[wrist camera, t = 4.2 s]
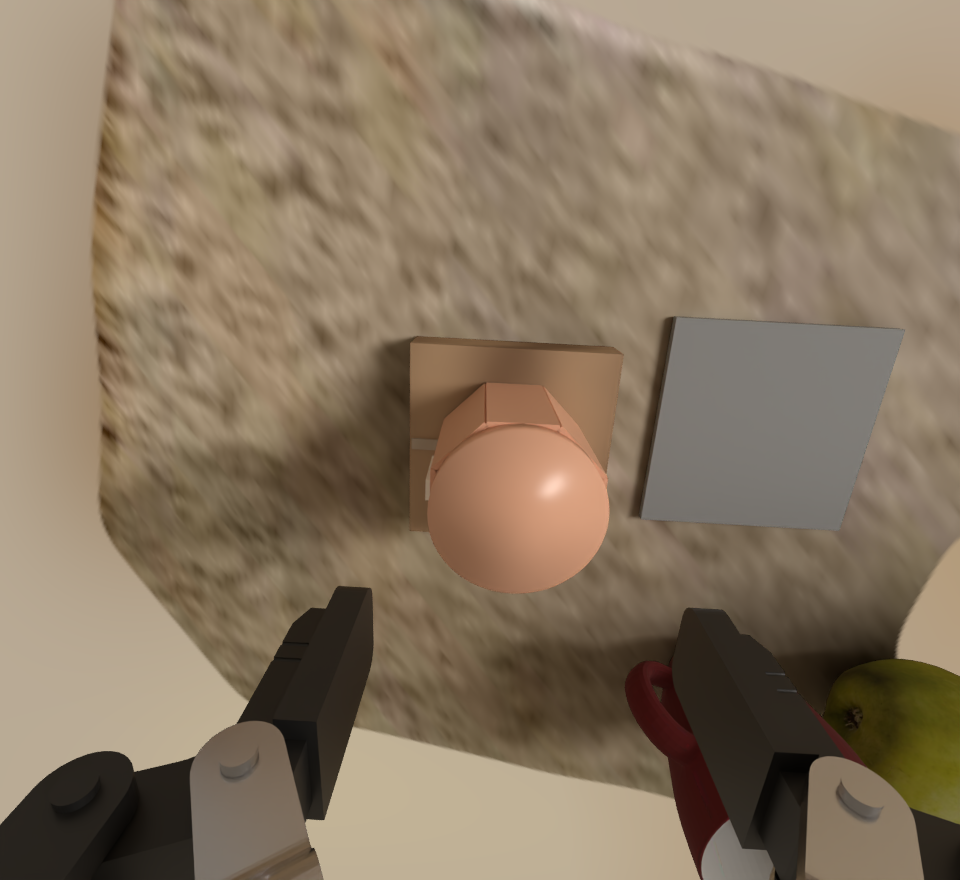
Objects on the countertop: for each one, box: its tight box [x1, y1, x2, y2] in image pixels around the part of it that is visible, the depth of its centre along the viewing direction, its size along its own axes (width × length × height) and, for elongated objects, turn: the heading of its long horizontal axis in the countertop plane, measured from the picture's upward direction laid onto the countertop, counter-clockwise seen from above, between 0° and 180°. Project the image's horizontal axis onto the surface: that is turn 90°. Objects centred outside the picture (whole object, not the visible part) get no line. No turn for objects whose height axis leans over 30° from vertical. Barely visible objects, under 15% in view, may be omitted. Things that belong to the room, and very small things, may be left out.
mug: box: [625, 655, 867, 880], centre depth 24 cm, size 11×8×10 cm
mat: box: [639, 316, 905, 531], centre depth 24 cm, size 10×10×1 cm
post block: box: [410, 336, 624, 532], centre depth 21 cm, size 9×9×7 cm
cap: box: [425, 382, 609, 593], centre depth 20 cm, size 6×6×6 cm
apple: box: [823, 659, 960, 824], centre depth 25 cm, size 8×9×8 cm
